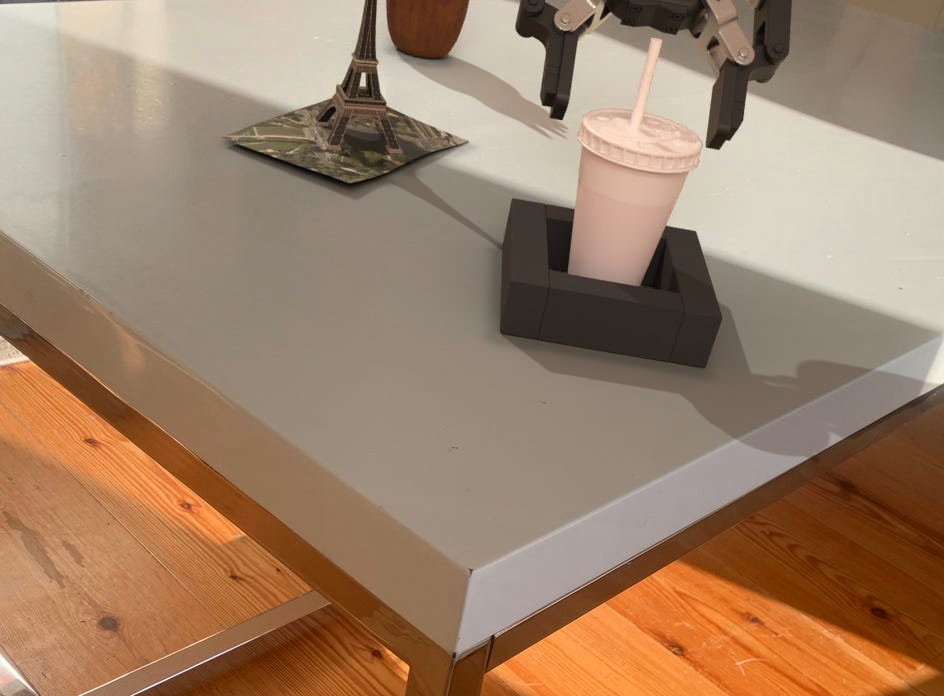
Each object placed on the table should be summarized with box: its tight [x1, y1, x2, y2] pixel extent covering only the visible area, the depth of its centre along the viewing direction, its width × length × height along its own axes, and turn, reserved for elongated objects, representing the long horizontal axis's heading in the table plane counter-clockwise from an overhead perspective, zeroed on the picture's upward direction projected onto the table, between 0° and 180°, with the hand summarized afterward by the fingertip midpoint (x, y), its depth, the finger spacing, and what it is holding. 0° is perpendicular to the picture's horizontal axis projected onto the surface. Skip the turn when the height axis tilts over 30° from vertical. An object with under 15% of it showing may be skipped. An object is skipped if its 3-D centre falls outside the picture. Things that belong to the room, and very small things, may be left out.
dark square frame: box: [499, 197, 724, 369], centre depth 62 cm, size 11×11×3 cm
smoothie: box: [567, 37, 704, 287], centre depth 59 cm, size 6×6×14 cm
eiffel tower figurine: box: [220, 0, 469, 184], centre depth 72 cm, size 15×10×13 cm
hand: (638, 127), depth 59 cm, fingers open, 8 cm apart
